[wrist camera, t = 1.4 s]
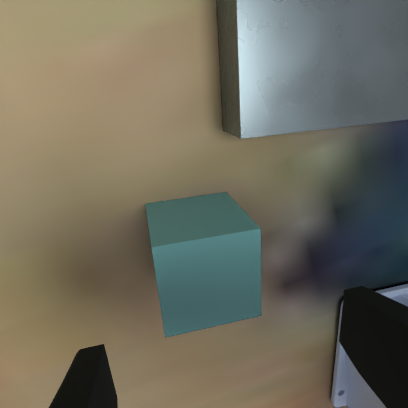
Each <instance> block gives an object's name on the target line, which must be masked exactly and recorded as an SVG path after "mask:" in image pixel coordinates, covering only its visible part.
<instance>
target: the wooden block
mask: <svg viewBox="0 0 408 408" xmlns="http://www.w3.org/2000/svg"><path fill="white" fill-rule="evenodd" d="M145 207H146V213H147V220H148V227H149V234H150V241H151V248H152V254H153V261H154V268H155V274H156V281H157V287H158V294H159V300H160V307H161V313H162V320H163V326H164V333H165V337H170V336H174V335H179V334H183V333H187V332H192V331H196V330H201V329H205V328H210V327H214V326H218V325H223V324H227V323H232V322H236V321H240V320H245V319H249V318H254V317H258V316H261V228H260V227H259V226H258V225H257V224H256V223H255V222H254V221H253V220H252V219H251V218H250V217H249V216H248V215H247V214H246V212H245V211H244V210H243V209H242V208H241V207H240V206H239V205H238V204H237V203H236V202H235V201H234V200H233V199H232V198H231V197H230V196H229V195H228V193H227V192H222V193H215V194H208V195H201V196H195V197H188V198H181V199H174V200H167V201H160V202H154V203H147V204H145Z"/></svg>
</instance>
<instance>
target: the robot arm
mask: <svg viewBox="0 0 408 408" xmlns="http://www.w3.org/2000/svg"><path fill="white" fill-rule="evenodd" d="M331 402H332V404H333V405H334V407H337V408H338V407H342V406H346V405H347V406H348V408H408V284H405V285H400V286H396V287H391V288H387V289H383V290H378V291H373V290H370V289H368V288H366V287H363V286H360V287H355V288H351V289H346V290H344V299H343V301H342V304H341V310H340V319H339V329H338V338H337V348H336V358H335V367H334V377H333V386H332V396H331ZM49 408H118V407H117V395H116V391H115V387H114V383H113V379H112V375H111V371H110V367H109V363H108V359H107V355H106V351H105V347H104V344H102V345H97V346H93V347H88V348H84V349H80V350H79V351H78V352H77V354H76V356H75V358H74V360H73V362H72V364H71V366H70V368H69V370H68V372H67V374H66V376H65V378H64V380H63V382H62V384H61V386H60V388H59V390H58V391H57V393H56V395H55V397H54V399H53V401H52V403H51V405H50V406H49Z"/></svg>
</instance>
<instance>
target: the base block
mask: <svg viewBox="0 0 408 408" xmlns="http://www.w3.org/2000/svg"><path fill="white" fill-rule="evenodd" d="M216 1H217V21H218V40H219V60H220V79H221V99H222V118H223V131H225V132H227V133H229V134H231V135H234V136H236V137H238V138H240V139H243V138H252V137H261V136H269V135H278V134H287V133H295V132H304V131H313V130H321V129H330V128H338V127H347V126H356V125H364V124H373V123H382V122H390V121H399V120H407V119H408V0H216Z"/></svg>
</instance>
